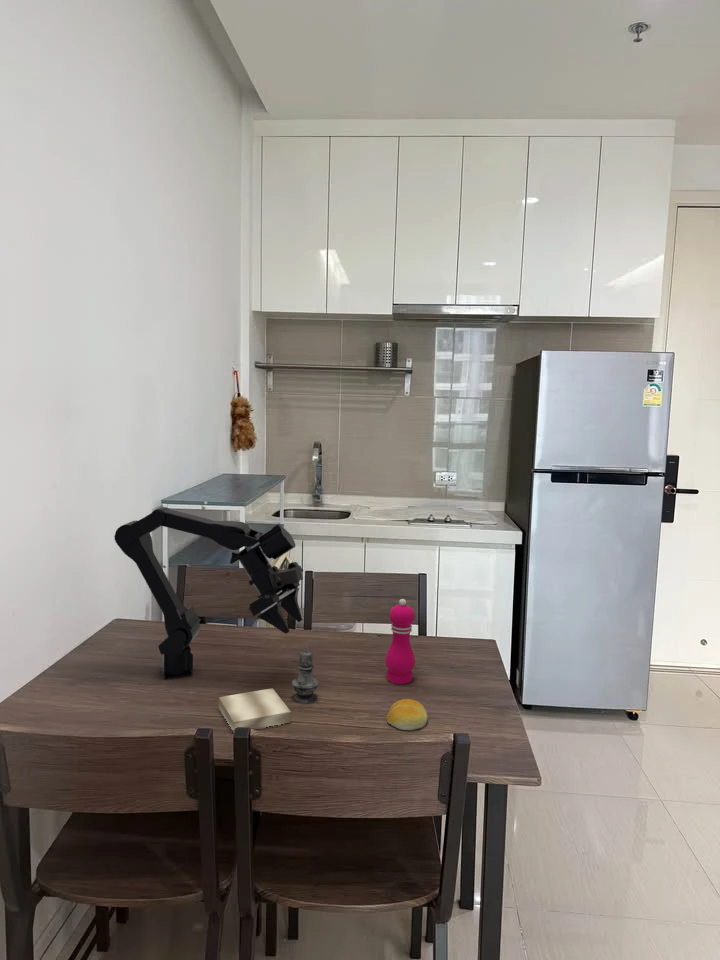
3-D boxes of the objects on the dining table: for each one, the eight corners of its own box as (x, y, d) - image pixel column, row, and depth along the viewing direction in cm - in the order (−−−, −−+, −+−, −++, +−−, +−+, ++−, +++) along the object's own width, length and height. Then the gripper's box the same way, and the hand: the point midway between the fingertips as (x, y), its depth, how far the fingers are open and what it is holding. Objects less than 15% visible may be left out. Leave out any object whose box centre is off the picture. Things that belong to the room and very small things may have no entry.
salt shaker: (313, 704, 141) (315, 652, 140) (288, 701, 143) (289, 649, 141) (320, 693, 147) (322, 643, 146) (296, 690, 148) (297, 640, 147)
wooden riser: (233, 734, 128) (233, 722, 127) (218, 708, 138) (218, 697, 138) (290, 723, 133) (290, 711, 133) (272, 699, 144) (272, 688, 143)
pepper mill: (378, 678, 157) (381, 598, 154) (397, 670, 162) (400, 592, 160) (401, 687, 152) (404, 605, 150) (420, 679, 157) (423, 599, 155)
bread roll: (383, 729, 132) (384, 710, 132) (392, 709, 141) (393, 692, 141) (423, 735, 130) (424, 716, 130) (429, 715, 139) (430, 697, 139)
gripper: (271, 560, 141) (309, 621, 140) (299, 545, 159) (332, 599, 158) (232, 585, 143) (269, 645, 142) (264, 568, 161) (296, 621, 160)
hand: (294, 626), depth 151 cm, fingers open, 9 cm apart
